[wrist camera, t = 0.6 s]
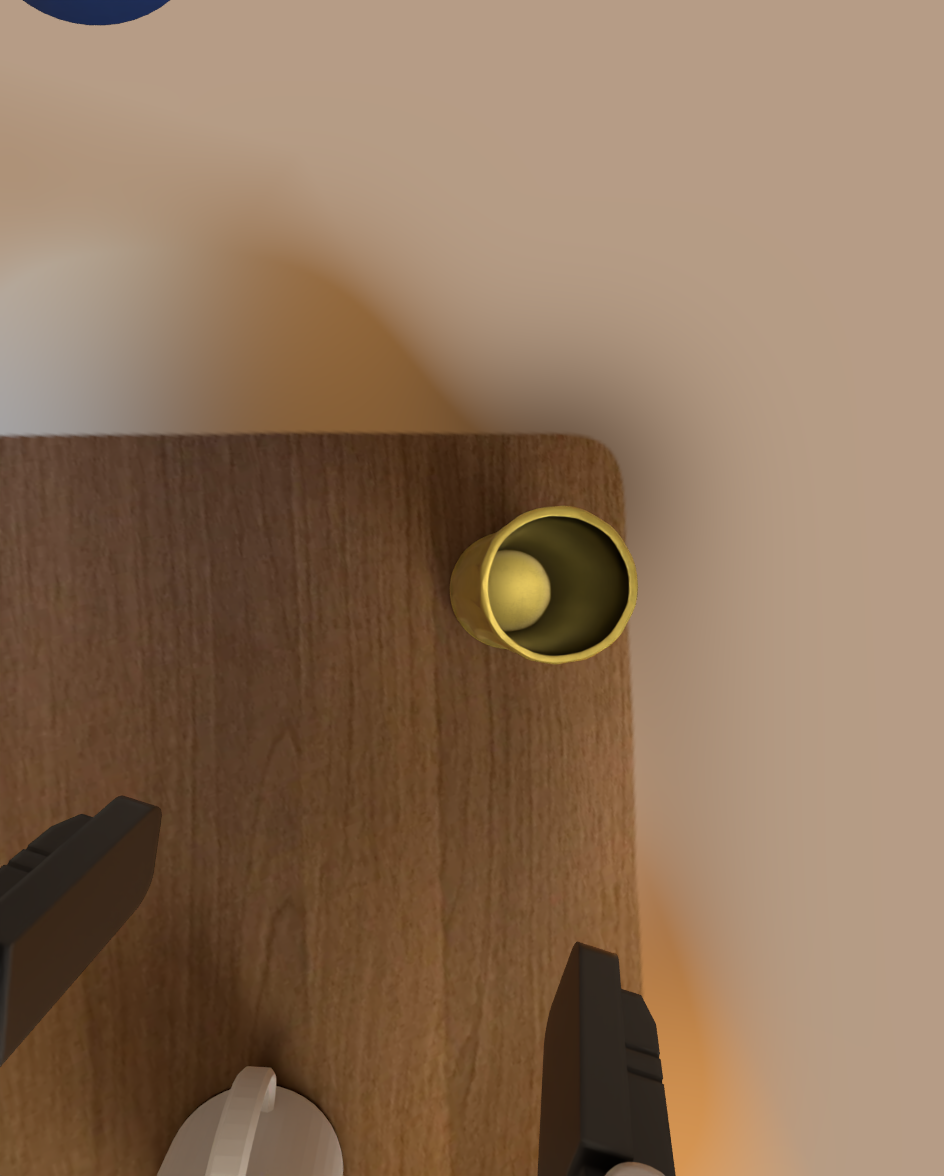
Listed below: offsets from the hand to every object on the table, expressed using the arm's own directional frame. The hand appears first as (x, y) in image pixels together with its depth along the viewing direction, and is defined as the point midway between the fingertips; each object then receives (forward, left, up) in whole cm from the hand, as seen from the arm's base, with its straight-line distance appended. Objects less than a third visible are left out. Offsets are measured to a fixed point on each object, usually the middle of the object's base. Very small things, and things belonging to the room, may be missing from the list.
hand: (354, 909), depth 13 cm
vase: (-7, +5, -24) cm, 25 cm away
